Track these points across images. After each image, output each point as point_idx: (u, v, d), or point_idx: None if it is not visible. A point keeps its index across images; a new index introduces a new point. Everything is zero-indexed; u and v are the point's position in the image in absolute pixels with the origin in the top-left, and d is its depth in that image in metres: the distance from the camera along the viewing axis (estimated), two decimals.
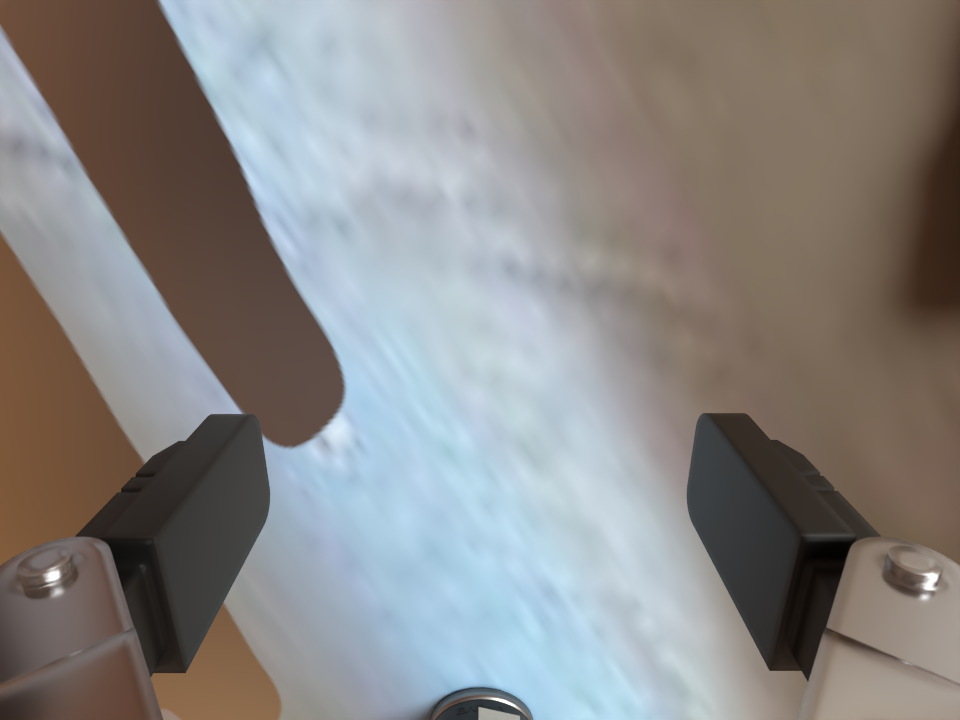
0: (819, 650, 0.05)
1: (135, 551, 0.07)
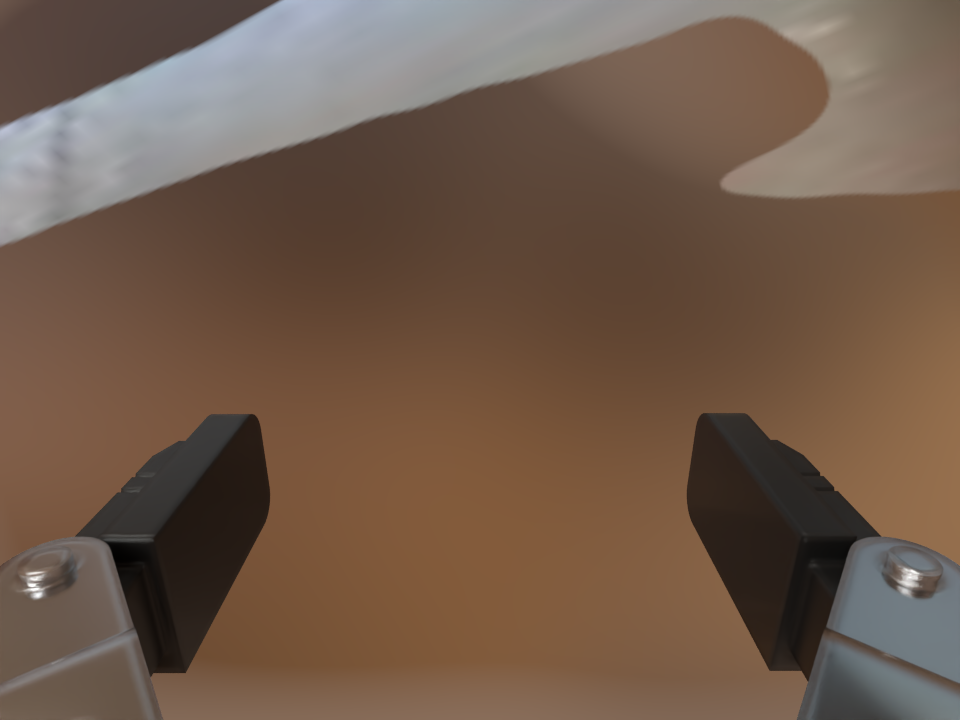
0: (819, 650, 0.05)
1: (135, 551, 0.07)
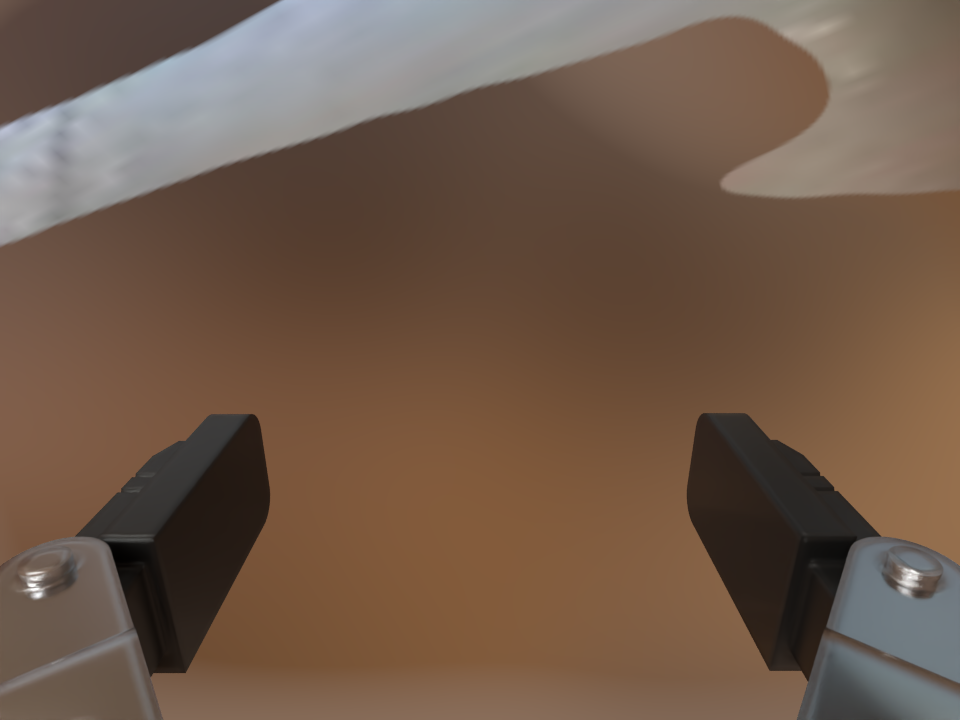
0: (819, 650, 0.05)
1: (135, 551, 0.07)
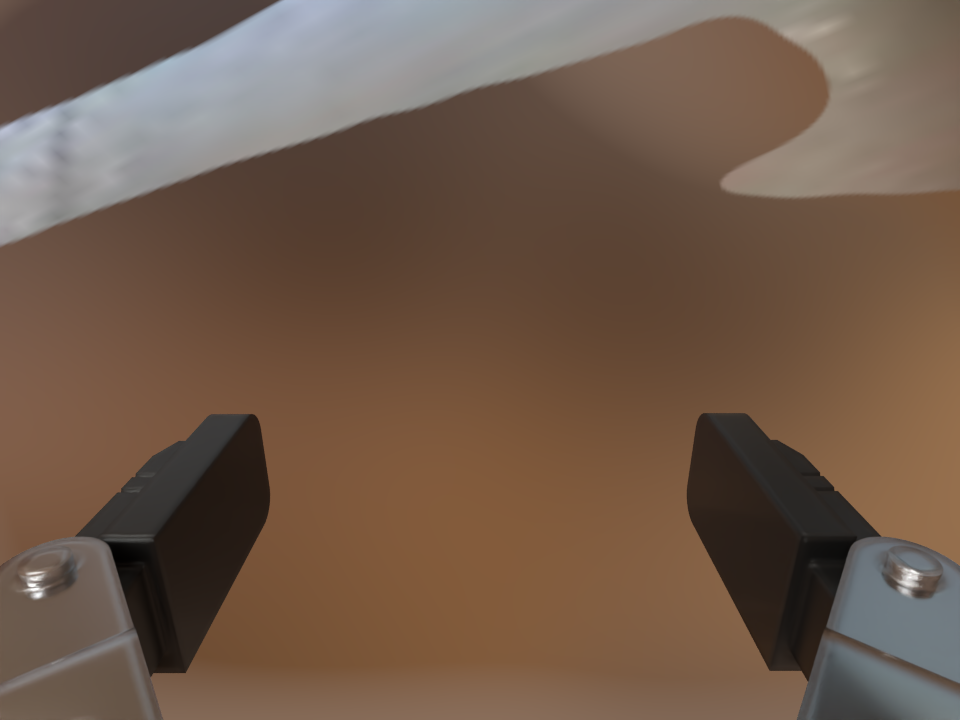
0: (819, 650, 0.05)
1: (135, 551, 0.07)
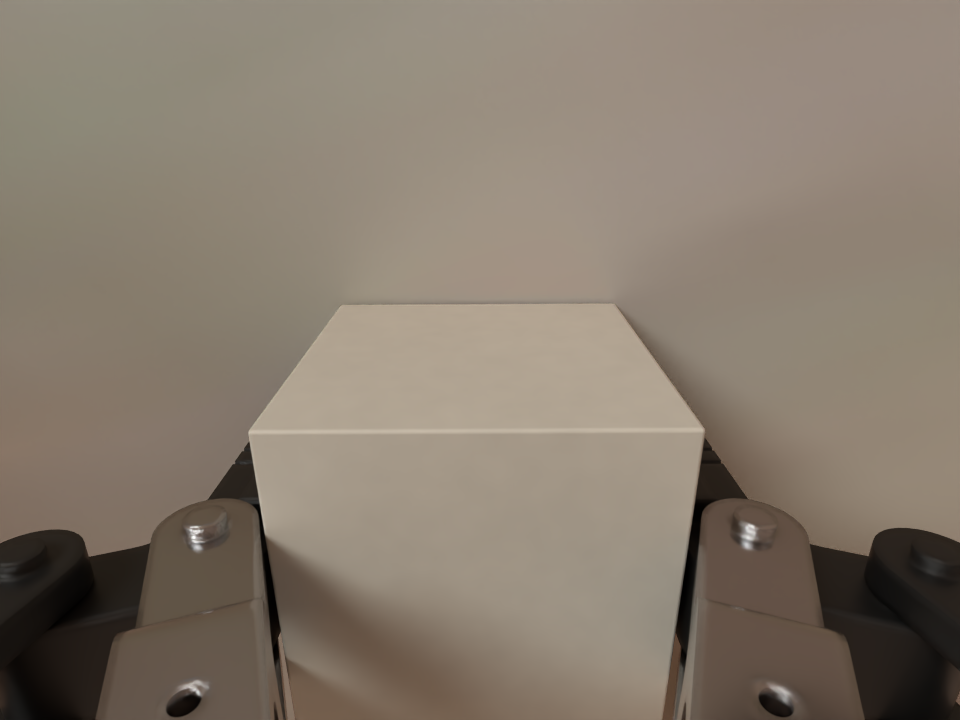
0: (698, 621, 0.05)
1: None
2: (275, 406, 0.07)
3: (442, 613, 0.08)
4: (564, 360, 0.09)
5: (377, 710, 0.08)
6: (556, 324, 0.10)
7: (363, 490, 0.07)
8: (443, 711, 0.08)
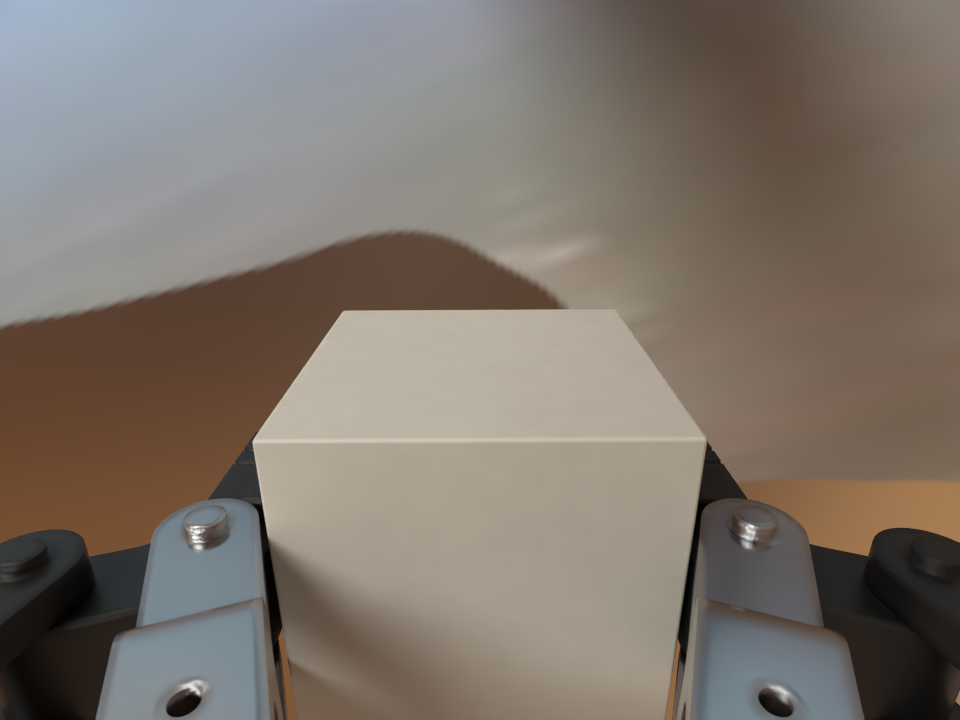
0: (698, 621, 0.05)
1: None
2: (279, 415, 0.07)
3: (445, 620, 0.08)
4: (566, 367, 0.09)
5: (380, 716, 0.08)
6: (557, 330, 0.10)
7: (367, 499, 0.07)
8: (446, 717, 0.08)
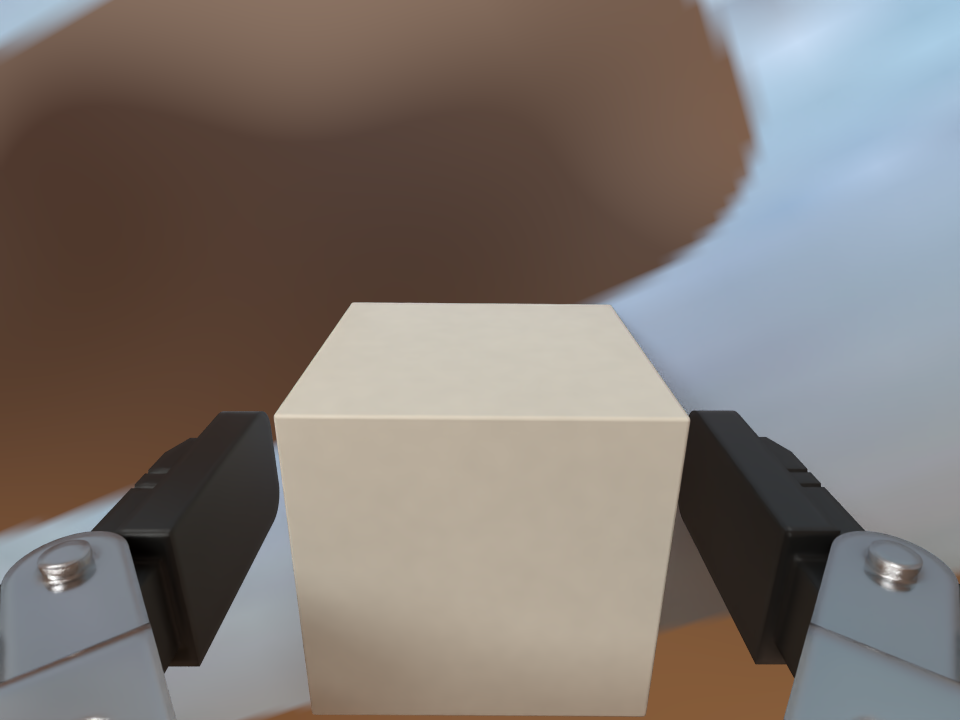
0: (805, 645, 0.05)
1: (151, 545, 0.08)
2: (297, 393, 0.08)
3: (447, 586, 0.08)
4: (562, 355, 0.09)
5: (385, 678, 0.09)
6: (554, 323, 0.11)
7: (378, 471, 0.08)
8: (446, 680, 0.09)
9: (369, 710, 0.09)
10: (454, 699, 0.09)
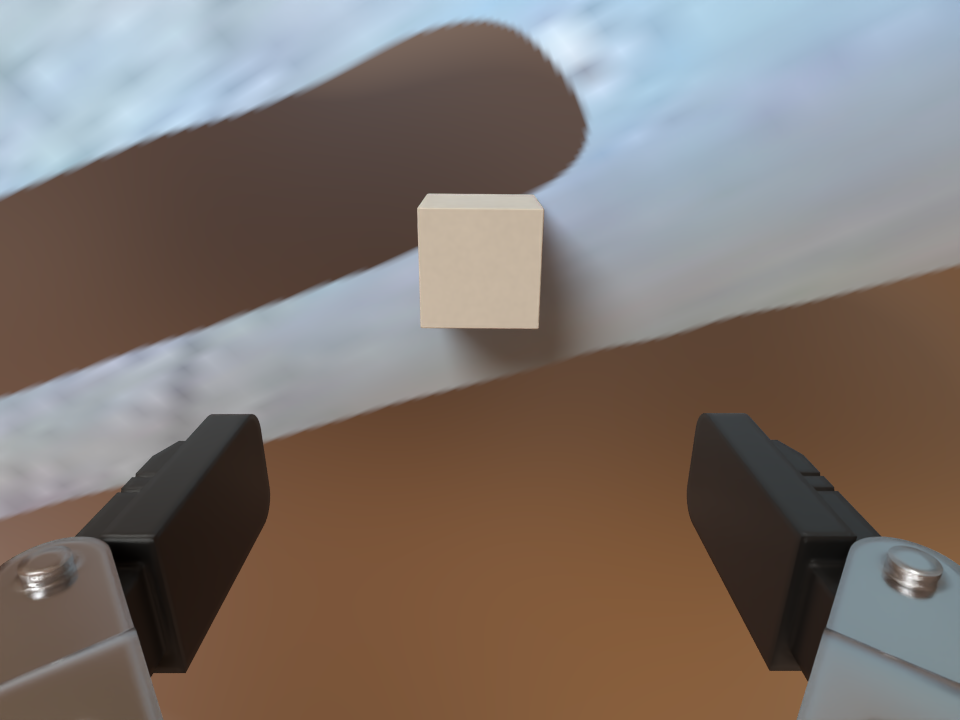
0: (819, 650, 0.05)
1: (135, 551, 0.07)
2: (421, 205, 0.25)
3: (469, 272, 0.26)
4: (509, 202, 0.27)
5: (447, 311, 0.26)
6: (508, 197, 0.28)
7: (448, 227, 0.25)
8: (468, 311, 0.26)
9: (441, 325, 0.27)
10: (471, 320, 0.27)
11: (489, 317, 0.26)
